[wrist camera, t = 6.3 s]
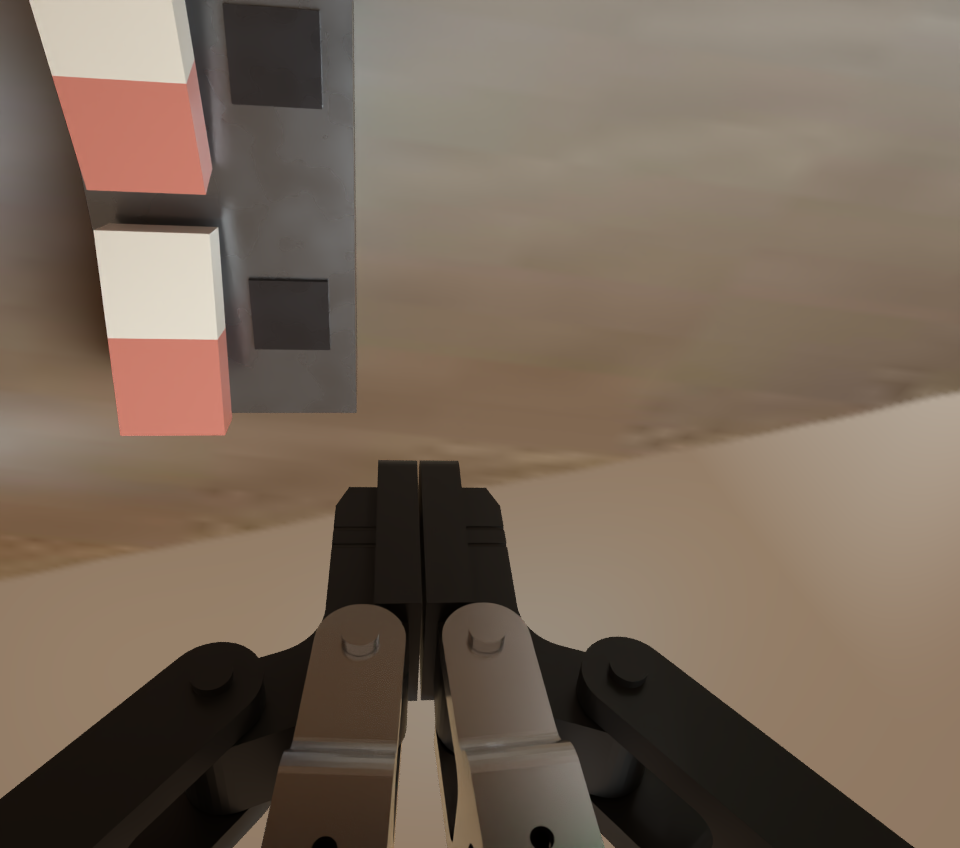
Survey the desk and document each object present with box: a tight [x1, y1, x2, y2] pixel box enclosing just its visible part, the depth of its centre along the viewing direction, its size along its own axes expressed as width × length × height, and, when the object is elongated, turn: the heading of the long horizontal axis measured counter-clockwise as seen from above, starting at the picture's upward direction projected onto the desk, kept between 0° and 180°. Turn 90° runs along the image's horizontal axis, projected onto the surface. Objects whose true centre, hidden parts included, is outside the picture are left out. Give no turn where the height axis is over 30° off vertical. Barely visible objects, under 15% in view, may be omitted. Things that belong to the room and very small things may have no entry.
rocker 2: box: [93, 223, 232, 436], centre depth 30 cm, size 4×8×2 cm, turn 175°
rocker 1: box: [29, 0, 212, 195], centre depth 25 cm, size 4×8×2 cm, turn 175°
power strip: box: [79, 0, 357, 413], centre depth 28 cm, size 10×30×4 cm, turn 175°
